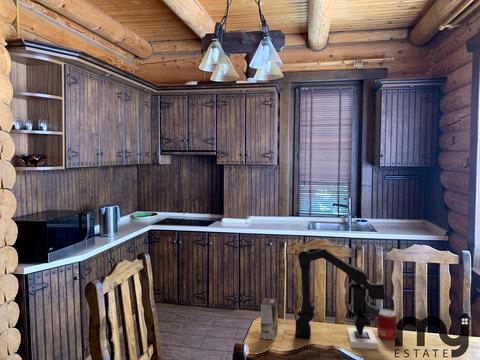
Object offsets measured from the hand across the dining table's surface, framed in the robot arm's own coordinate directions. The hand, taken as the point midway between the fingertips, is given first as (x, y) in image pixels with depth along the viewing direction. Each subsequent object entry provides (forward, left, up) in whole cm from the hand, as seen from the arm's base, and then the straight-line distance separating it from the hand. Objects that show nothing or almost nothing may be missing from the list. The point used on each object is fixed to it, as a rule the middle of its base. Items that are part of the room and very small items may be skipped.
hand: (359, 332), depth 156 cm
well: (+1, 0, -4) cm, 4 cm away
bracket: (+1, 0, -2) cm, 2 cm away
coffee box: (-40, -1, -4) cm, 40 cm away
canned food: (+13, +6, -4) cm, 15 cm away
